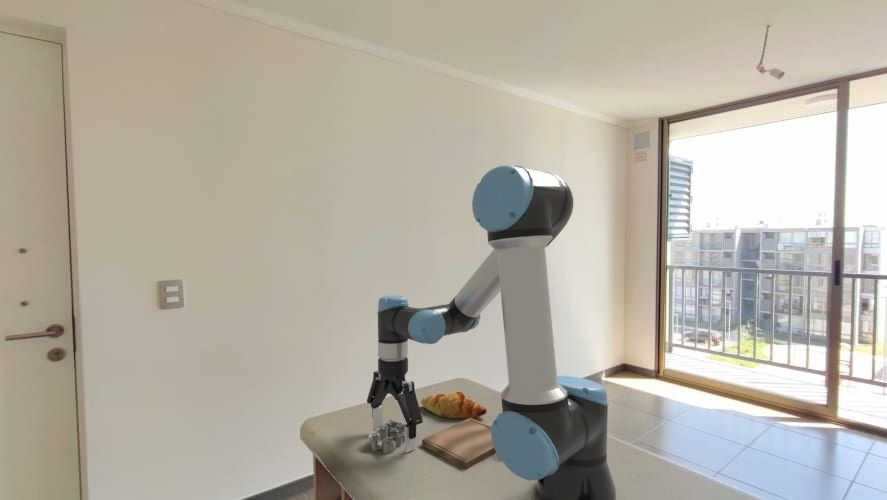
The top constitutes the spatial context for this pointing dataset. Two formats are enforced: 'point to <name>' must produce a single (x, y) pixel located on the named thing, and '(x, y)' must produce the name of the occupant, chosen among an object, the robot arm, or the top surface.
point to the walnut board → (462, 442)
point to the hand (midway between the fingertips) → (393, 440)
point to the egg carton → (382, 432)
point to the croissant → (453, 405)
